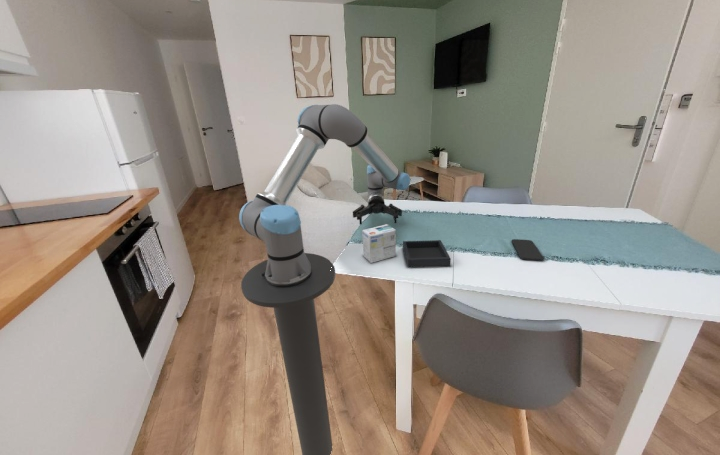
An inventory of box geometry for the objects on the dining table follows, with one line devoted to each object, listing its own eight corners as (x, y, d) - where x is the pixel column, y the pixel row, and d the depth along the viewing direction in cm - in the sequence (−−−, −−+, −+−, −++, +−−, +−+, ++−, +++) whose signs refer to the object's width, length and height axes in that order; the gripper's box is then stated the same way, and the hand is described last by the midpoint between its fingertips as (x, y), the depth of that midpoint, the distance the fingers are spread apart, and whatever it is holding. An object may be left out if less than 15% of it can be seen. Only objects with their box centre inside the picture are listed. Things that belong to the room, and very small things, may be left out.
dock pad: (407, 267, 99) (407, 259, 98) (402, 248, 112) (402, 241, 111) (450, 266, 98) (450, 258, 97) (440, 247, 112) (440, 240, 111)
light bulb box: (387, 249, 112) (387, 223, 108) (396, 256, 107) (396, 229, 102) (362, 255, 108) (361, 229, 104) (370, 263, 102) (369, 236, 98)
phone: (520, 257, 100) (510, 238, 113) (520, 259, 100) (510, 240, 114) (544, 259, 98) (531, 240, 112) (544, 261, 99) (531, 242, 112)
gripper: (403, 210, 133) (410, 228, 113) (349, 212, 134) (346, 230, 114) (403, 194, 130) (410, 210, 110) (348, 196, 131) (345, 212, 111)
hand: (378, 220), depth 112 cm, fingers open, 13 cm apart
